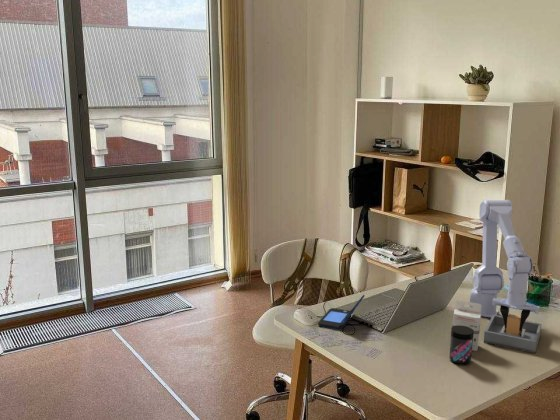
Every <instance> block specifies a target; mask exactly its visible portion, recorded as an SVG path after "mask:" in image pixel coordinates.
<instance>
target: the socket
mask: <svg viewBox="0 0 560 420" xmlns="http://www.w3.org/2000/svg"><path fill="white" fill-rule="evenodd" d="M505 332H506V328H505V325H504V326H503V328H502V330H501V334H505V335H510V336H515V337H519V338H524V336H525V329H522V331H520V334H519V335H515V334H510V333H505ZM520 335H521V336H520Z"/></svg>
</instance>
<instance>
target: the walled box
mask: <svg viewBox="0 0 560 420" xmlns="http://www.w3.org/2000/svg"><path fill="white" fill-rule="evenodd" d="M503 326H504V320H503V316H501V315H498V314H497V315H492V317H491V318H490V320H489V322H488V323H487V326H486V328H485V330H484V332H483V343H485V344H489V345H490V344H491V345H493V346H494V345H495V346H499V347H503V348H508V349H513V350H518V351H523V352H527V353H530V354H536V351H537V347H538V344H539V341H540V337H541V332H542V323H538V322H533V321H528V320H526V321H525V322H524V324H523V328H522V329H525V336H524V338H519V337H515V336H510V335H505V334H501V330H502V328H503ZM505 333H506V332H505ZM520 336H521V335H520Z"/></svg>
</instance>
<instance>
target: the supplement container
mask: <svg viewBox="0 0 560 420" xmlns="http://www.w3.org/2000/svg"><path fill="white" fill-rule="evenodd" d="M473 336H474V330H473V329H471V328H470V327H467V326H461V325H457V326H453V327H452V326H451V328H450V340H449V342H450V343H449V360H450V361H451V363H452V364H455V365H459V366H466V365H469V364H470V363H471V362H472V358H473V357H472V355H473V350H472V346H473Z"/></svg>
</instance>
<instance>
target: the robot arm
mask: <svg viewBox="0 0 560 420" xmlns="http://www.w3.org/2000/svg"><path fill="white" fill-rule="evenodd" d="M513 208H514V207H513V203H512V202H511V200H510V199H494V200H493V199H489V200H488V199H483V200H482V201H481V203H480V204H479V213H478V214H479V221H480V222H482V251H481V252H482V254H481V255H482V259H481V262H482V264H481V265H479V267H477V268H476V269H475V270H474V272H473V273H474V274H473V278H472V286H473V288H472V289H471V290H470V295H469V296H470V297H469V302H471V303H477V304H481V305H482V306H481V317H484V318H490V319H491V317H492V315H497V316H498V313H499V312H500V315H502V317H503V320H504V325H505V328H507V318H508V315H509V313H510V309H512V310H520V311H521V312H520V315H521V323H520V328H519V331H522V328H523V324H524V322H525V321H527V319H528V317H529V316H530V314H531V312H532V313H535V314H537V315H539V312H540V306H538V305H535V304H532V303H528V302H526V298H527V292H528V291H527V289H528V280H529V274H531V273H532V271H533V269H534V263H533V259H532V257H531V255H528V253H526V251H525V249H524V246H523V243H522V241H521V238H520V237H518V236H516V234H515V229H514V226H513V222H512V215H513V210H514V209H513ZM498 227H499V230H500V232H501V234H502V236H503V239H504V240H503V242H502V246H503V248H504V252H505V254H506V256H507V262H506V268H507V276H508V277H507V278H508V285H507V286H508V290H507V295H506V298H504V299H503V298H498V294H499V293H500V292H501V291H502V290H503V288H504V287H505V281H504V279H505V278H504V273H503V271H502V270H501V268H499V267H498V266H497V255H498V254H497V253H498V250H497V249H498V247H497V246H498ZM497 306H499V307H500V308H499V310H498V309H497ZM468 307H470V308H473V306H470V305H468Z"/></svg>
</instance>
